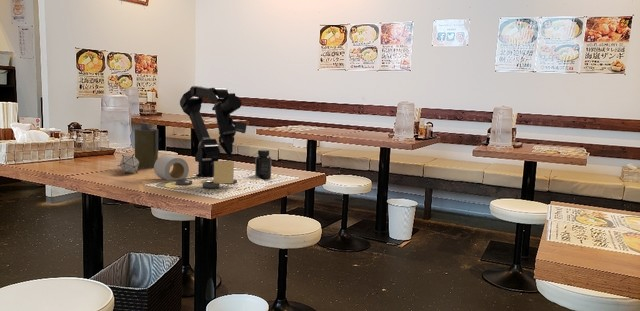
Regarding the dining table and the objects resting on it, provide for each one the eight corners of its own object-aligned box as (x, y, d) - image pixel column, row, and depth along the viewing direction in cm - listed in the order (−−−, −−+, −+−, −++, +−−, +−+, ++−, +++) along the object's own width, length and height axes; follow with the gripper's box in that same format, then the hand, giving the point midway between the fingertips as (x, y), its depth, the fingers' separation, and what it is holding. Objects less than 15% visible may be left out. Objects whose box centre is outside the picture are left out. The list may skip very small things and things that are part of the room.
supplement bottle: (273, 177, 213) (274, 150, 212) (267, 179, 207) (268, 151, 205) (258, 176, 215) (259, 148, 213) (252, 178, 208) (253, 150, 207)
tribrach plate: (170, 188, 180) (170, 182, 180) (202, 180, 199) (203, 174, 199) (211, 194, 174) (211, 187, 173) (241, 185, 192) (241, 179, 192)
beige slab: (204, 189, 174) (204, 163, 173) (201, 186, 180) (201, 160, 179) (234, 188, 179) (235, 162, 178) (231, 185, 184) (231, 160, 183)
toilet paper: (188, 182, 194) (189, 157, 193) (164, 184, 188) (164, 158, 186) (177, 178, 202) (177, 154, 200) (153, 180, 195) (153, 155, 194)
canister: (129, 167, 222) (129, 123, 220) (143, 164, 232) (143, 122, 229) (149, 169, 219) (149, 124, 216) (163, 166, 229) (163, 123, 226)
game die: (124, 182, 207) (109, 163, 204) (136, 172, 214) (121, 154, 211) (138, 173, 203) (122, 154, 200) (149, 164, 210) (134, 145, 207)
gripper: (244, 107, 190) (252, 146, 187) (242, 121, 208) (249, 156, 205) (216, 111, 187) (223, 151, 185) (215, 125, 205) (222, 160, 202)
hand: (230, 154), depth 194 cm, fingers open, 9 cm apart
